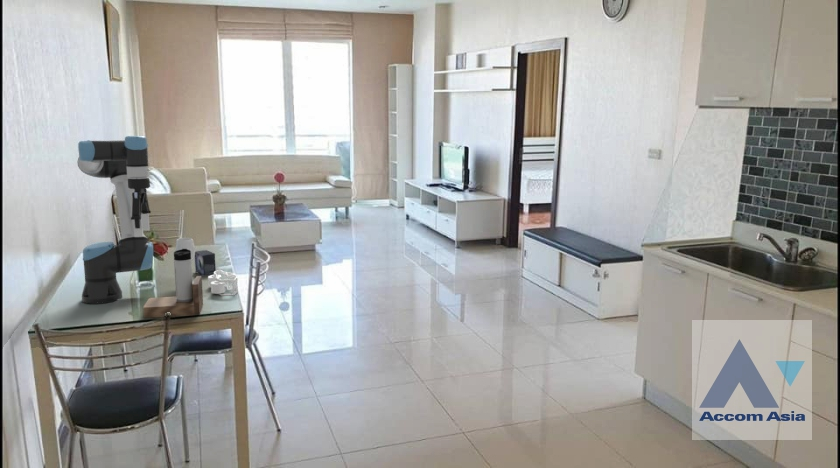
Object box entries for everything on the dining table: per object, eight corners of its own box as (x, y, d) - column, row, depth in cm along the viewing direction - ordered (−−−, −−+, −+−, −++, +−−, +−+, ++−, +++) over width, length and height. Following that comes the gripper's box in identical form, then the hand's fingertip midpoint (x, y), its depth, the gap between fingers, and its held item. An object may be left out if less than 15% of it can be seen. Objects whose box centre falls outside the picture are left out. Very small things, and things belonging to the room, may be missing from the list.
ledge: (143, 317, 235) (141, 286, 233) (150, 307, 248) (148, 278, 246) (199, 314, 240) (197, 284, 238) (203, 304, 252) (201, 275, 250)
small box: (194, 272, 304) (193, 251, 302) (207, 270, 308) (206, 249, 306) (203, 276, 296) (202, 255, 294) (216, 274, 300) (215, 253, 298)
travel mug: (196, 298, 248) (193, 248, 244) (190, 302, 241) (187, 252, 237) (180, 298, 247) (177, 248, 244) (174, 302, 241) (171, 252, 237)
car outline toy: (207, 287, 279) (206, 271, 277) (233, 284, 283) (232, 268, 282) (212, 299, 261) (211, 282, 260) (239, 296, 265) (239, 279, 264)
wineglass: (190, 288, 276) (187, 241, 272) (172, 286, 278) (169, 240, 274) (201, 283, 284) (198, 237, 281) (183, 281, 286) (181, 236, 282)
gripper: (142, 180, 223) (146, 239, 227) (155, 174, 247) (158, 227, 251) (119, 181, 221) (124, 240, 225) (134, 174, 245) (138, 228, 249)
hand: (142, 233), depth 238 cm, fingers open, 13 cm apart
